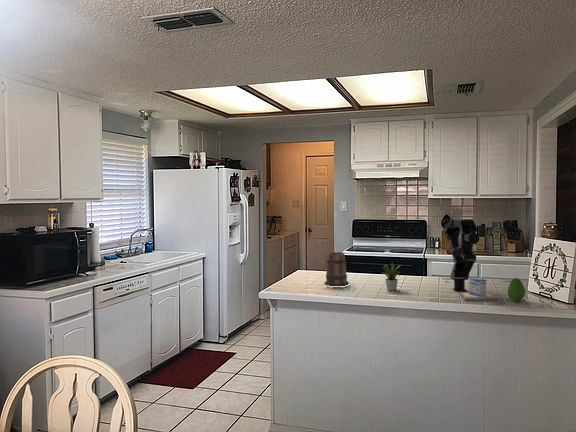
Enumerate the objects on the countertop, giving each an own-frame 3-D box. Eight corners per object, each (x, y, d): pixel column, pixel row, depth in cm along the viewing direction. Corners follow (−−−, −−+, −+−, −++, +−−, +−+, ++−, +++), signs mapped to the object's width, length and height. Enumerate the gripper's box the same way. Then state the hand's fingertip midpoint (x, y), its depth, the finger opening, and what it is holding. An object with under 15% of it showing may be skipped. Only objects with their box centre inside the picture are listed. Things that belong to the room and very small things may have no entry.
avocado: (508, 302, 244) (508, 278, 244) (507, 299, 252) (507, 276, 251) (526, 303, 241) (525, 279, 241) (524, 300, 249) (524, 276, 248)
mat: (459, 294, 266) (459, 291, 266) (490, 294, 264) (490, 292, 264) (464, 300, 251) (464, 298, 251) (497, 301, 248) (497, 298, 248)
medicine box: (468, 294, 260) (468, 277, 260) (475, 293, 262) (475, 277, 261) (480, 296, 253) (479, 280, 252) (486, 295, 255) (486, 279, 254)
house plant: (374, 291, 279) (374, 263, 278) (379, 287, 292) (378, 260, 291) (400, 293, 274) (399, 264, 273) (403, 288, 287) (403, 260, 286)
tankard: (347, 288, 291) (346, 255, 290) (319, 287, 296) (319, 254, 295) (354, 281, 313) (354, 250, 312) (328, 280, 318) (328, 249, 317)
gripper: (448, 240, 274) (448, 268, 275) (454, 244, 256) (454, 273, 256) (469, 240, 272) (469, 268, 273) (476, 244, 254) (476, 273, 254)
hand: (467, 270), depth 264 cm, fingers open, 9 cm apart
